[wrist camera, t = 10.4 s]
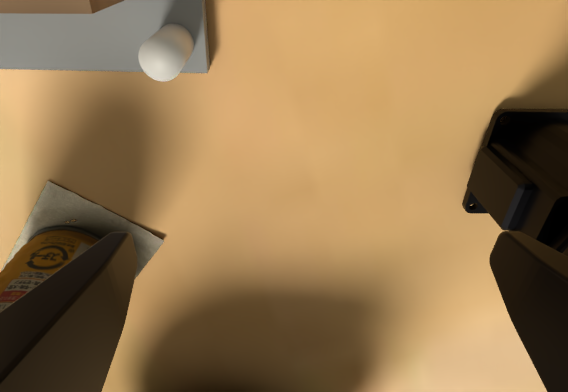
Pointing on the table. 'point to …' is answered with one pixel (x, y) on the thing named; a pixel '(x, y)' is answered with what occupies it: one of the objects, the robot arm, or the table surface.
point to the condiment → (63, 240)
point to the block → (55, 6)
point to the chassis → (111, 39)
